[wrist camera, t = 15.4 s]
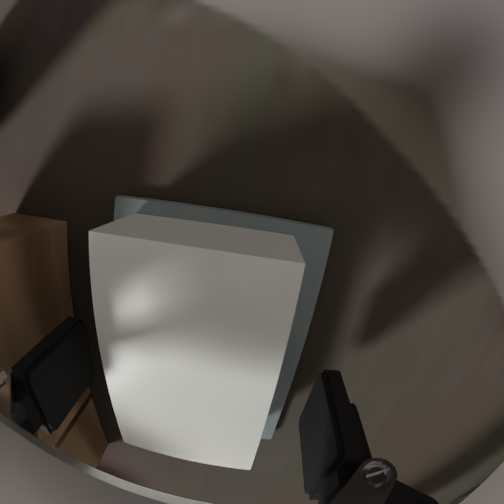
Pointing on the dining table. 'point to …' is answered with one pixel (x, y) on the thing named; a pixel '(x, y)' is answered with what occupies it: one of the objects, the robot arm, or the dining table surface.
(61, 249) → the housing
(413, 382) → the dining table surface
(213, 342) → the cover
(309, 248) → the mat
